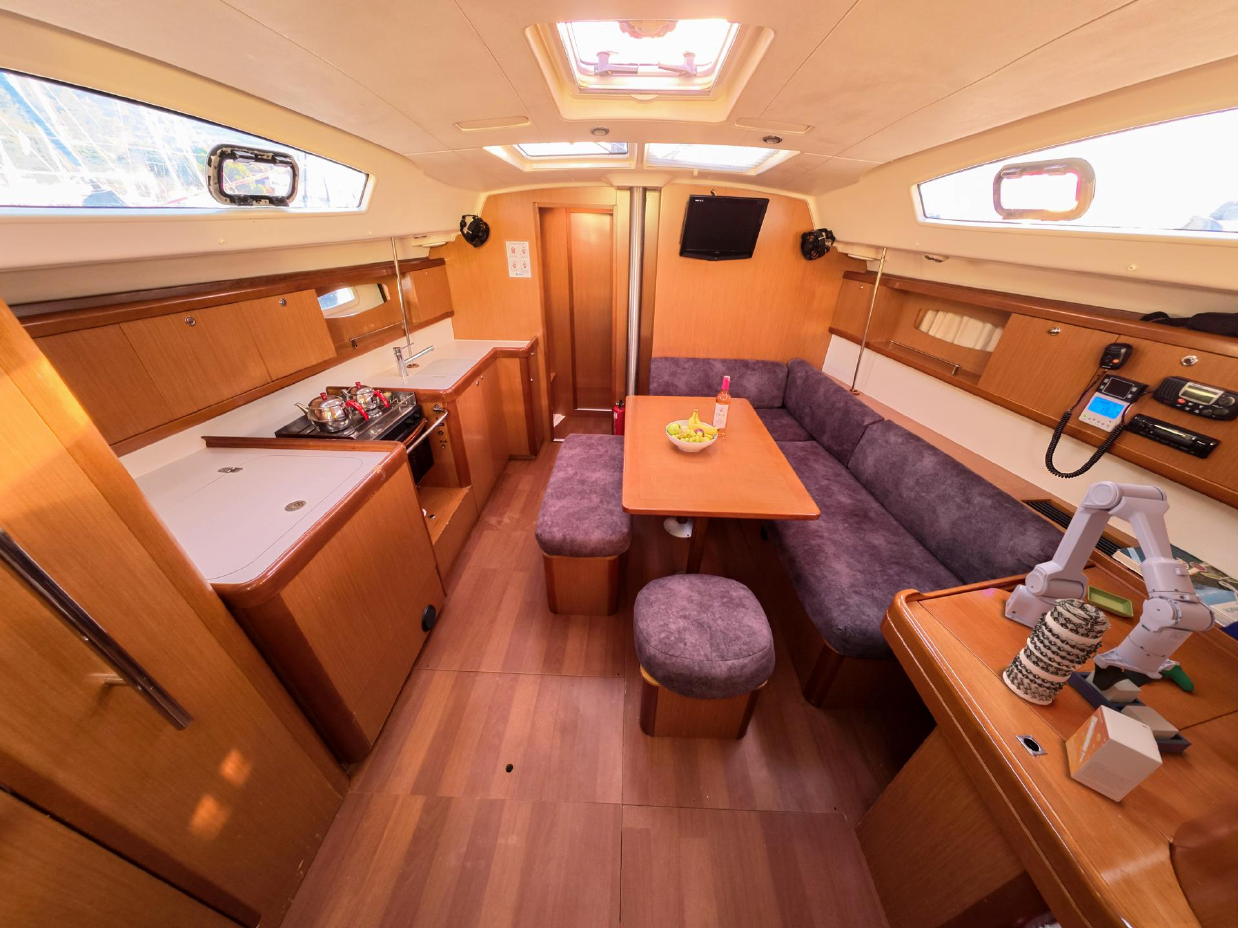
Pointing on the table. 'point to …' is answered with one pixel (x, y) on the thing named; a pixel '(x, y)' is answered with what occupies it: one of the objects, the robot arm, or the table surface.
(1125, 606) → the green shallow tray
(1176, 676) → the gaming controller
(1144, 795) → the table surface
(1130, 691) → the white squarish block
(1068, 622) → the decorative candle
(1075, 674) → the holder
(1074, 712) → the table surface
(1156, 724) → the beige block
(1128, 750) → the small box
